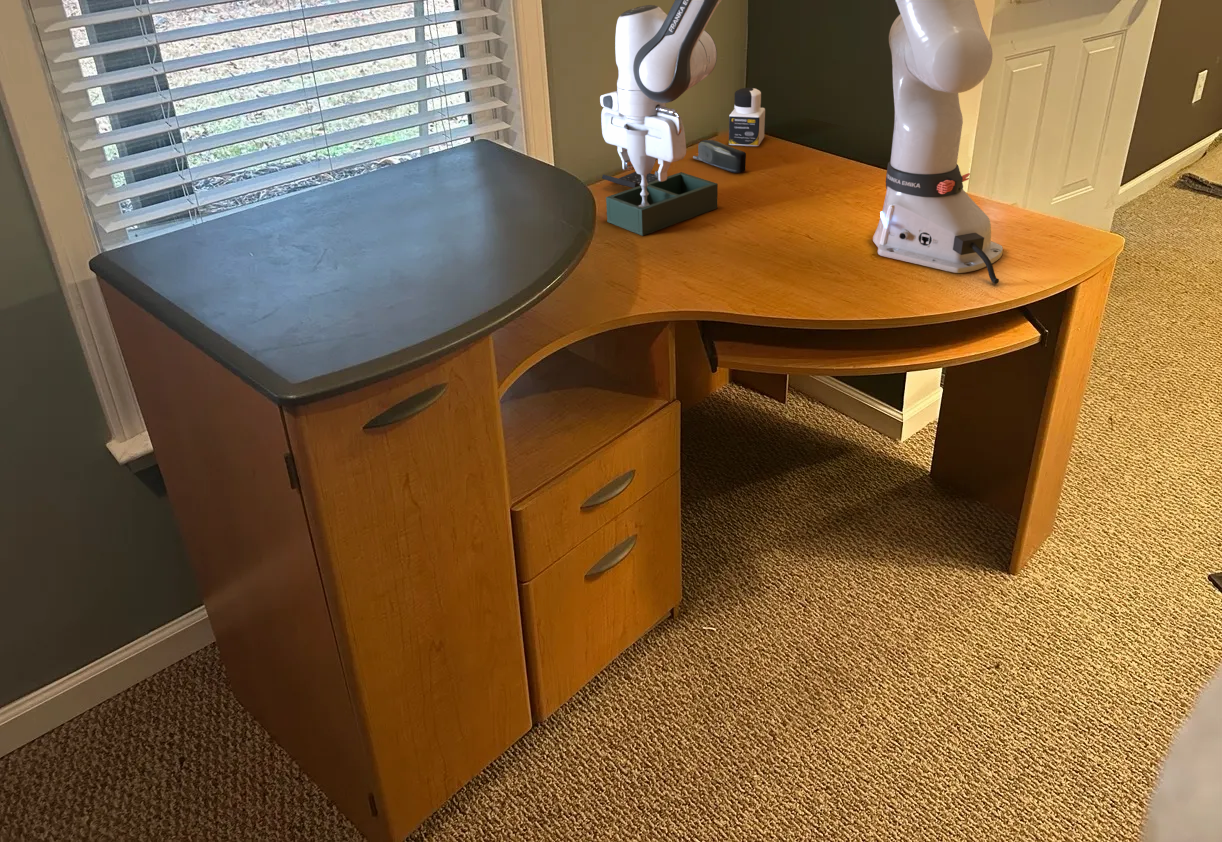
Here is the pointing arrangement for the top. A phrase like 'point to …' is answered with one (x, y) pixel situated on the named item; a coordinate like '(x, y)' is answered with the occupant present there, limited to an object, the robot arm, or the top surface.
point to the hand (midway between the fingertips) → (644, 174)
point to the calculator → (630, 179)
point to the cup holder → (662, 203)
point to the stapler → (721, 156)
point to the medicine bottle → (747, 118)
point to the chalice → (640, 159)
